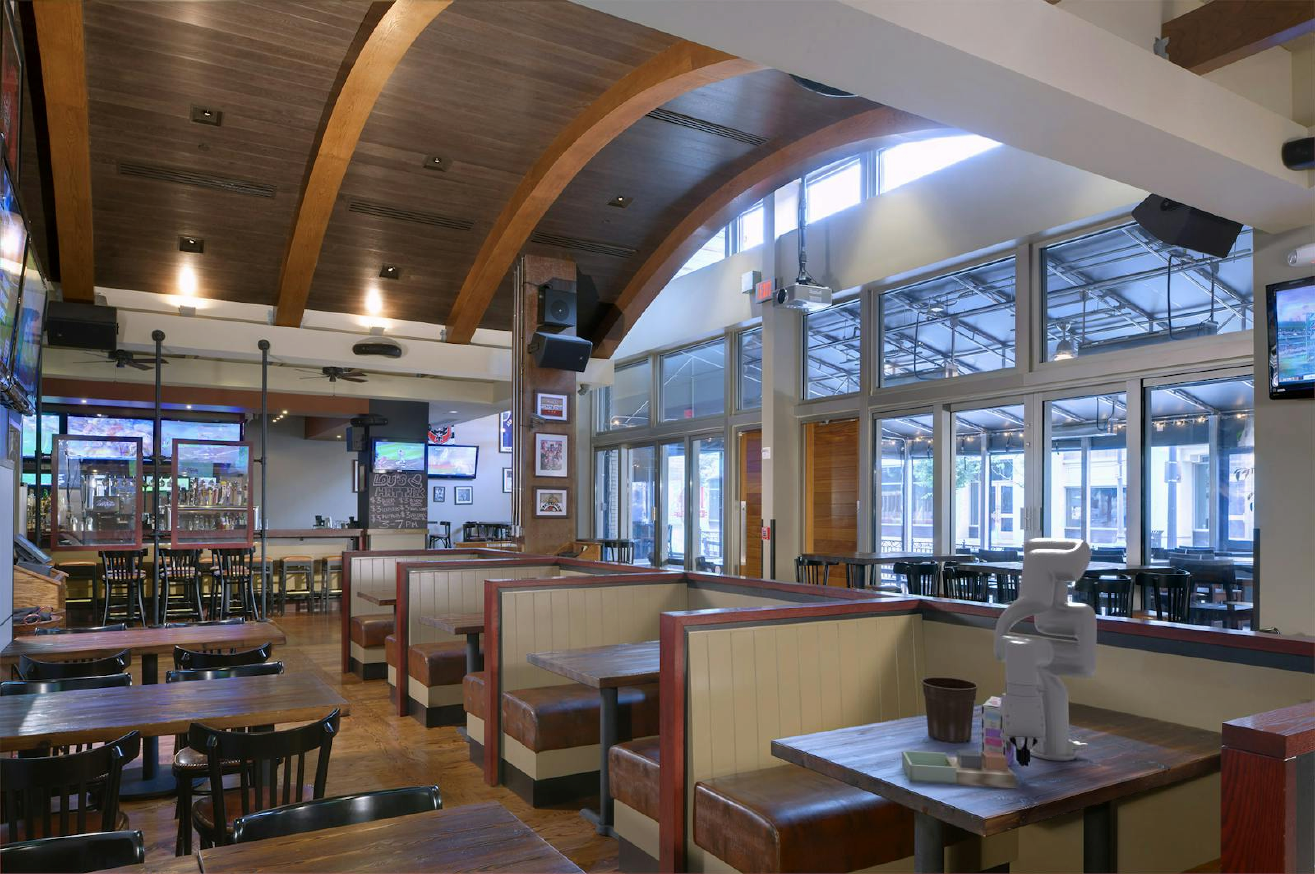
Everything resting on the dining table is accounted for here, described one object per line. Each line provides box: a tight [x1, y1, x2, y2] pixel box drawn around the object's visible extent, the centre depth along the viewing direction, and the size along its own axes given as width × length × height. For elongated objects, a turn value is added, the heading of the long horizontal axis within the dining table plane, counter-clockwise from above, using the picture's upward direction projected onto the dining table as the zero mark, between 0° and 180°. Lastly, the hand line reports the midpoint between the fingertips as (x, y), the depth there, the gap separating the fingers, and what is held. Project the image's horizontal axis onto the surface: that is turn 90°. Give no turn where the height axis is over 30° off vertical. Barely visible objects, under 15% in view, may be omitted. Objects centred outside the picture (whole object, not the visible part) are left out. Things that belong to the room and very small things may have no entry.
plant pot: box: [920, 676, 979, 744], centre depth 251 cm, size 16×16×16 cm
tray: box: [901, 750, 958, 786], centre depth 214 cm, size 11×13×4 cm
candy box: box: [981, 695, 1015, 768], centre depth 225 cm, size 14×6×16 cm, turn 148°
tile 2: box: [980, 750, 1007, 770], centre depth 212 cm, size 5×5×3 cm
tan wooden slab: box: [946, 756, 1017, 789], centre depth 212 cm, size 14×13×3 cm
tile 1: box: [956, 749, 982, 769], centre depth 213 cm, size 5×5×3 cm
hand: (1023, 764), depth 211 cm, fingers closed
